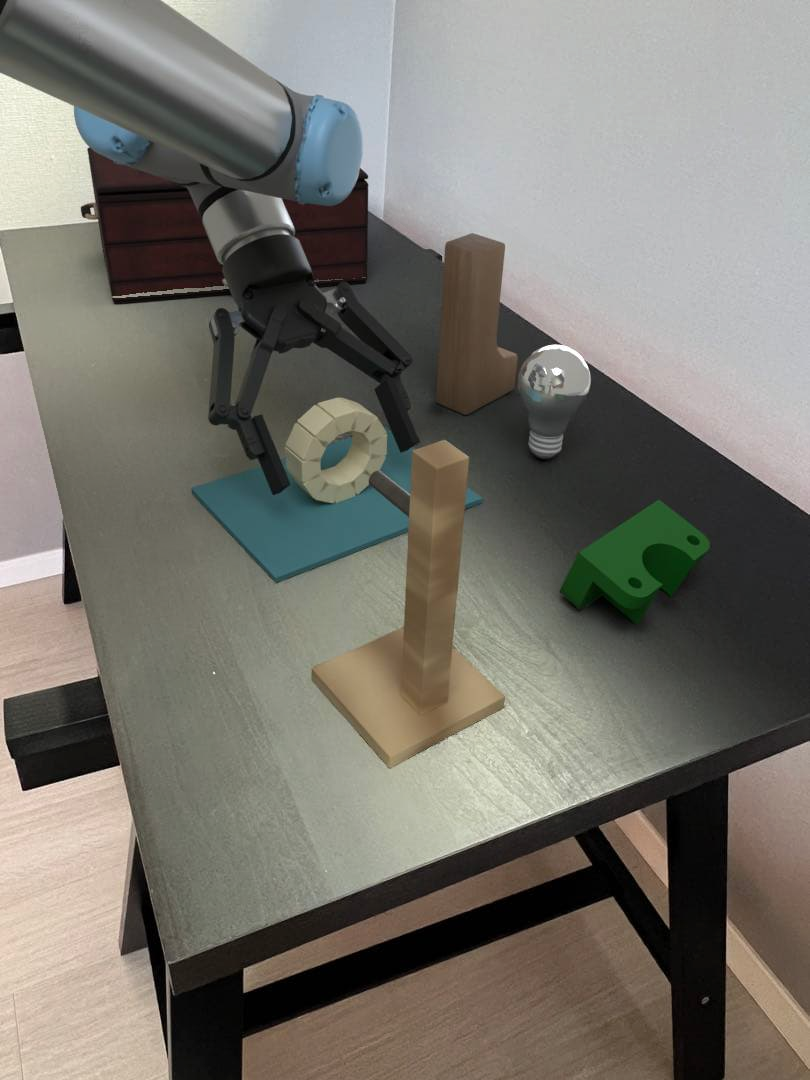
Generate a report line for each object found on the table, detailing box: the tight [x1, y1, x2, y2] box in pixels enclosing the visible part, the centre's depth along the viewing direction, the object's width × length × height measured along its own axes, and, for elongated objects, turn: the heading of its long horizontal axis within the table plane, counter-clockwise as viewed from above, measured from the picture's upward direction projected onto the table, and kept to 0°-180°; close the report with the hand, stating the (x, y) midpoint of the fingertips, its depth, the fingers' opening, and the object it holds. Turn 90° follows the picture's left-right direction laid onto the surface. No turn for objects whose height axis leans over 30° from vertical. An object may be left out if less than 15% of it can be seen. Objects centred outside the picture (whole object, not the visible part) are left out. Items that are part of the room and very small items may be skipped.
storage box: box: [80, 146, 369, 305], centre depth 130 cm, size 39×23×15 cm, turn 108°
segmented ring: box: [284, 396, 387, 504], centre depth 85 cm, size 9×3×9 cm, turn 125°
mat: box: [190, 426, 483, 584], centre depth 88 cm, size 22×16×1 cm
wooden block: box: [435, 232, 519, 416], centre depth 101 cm, size 9×4×18 cm, turn 138°
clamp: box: [559, 499, 711, 625], centre depth 77 cm, size 12×6×9 cm, turn 129°
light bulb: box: [517, 344, 592, 461], centre depth 92 cm, size 7×7×12 cm
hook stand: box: [311, 439, 506, 769], centre depth 62 cm, size 10×10×21 cm
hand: (348, 468), depth 85 cm, fingers open, 13 cm apart
